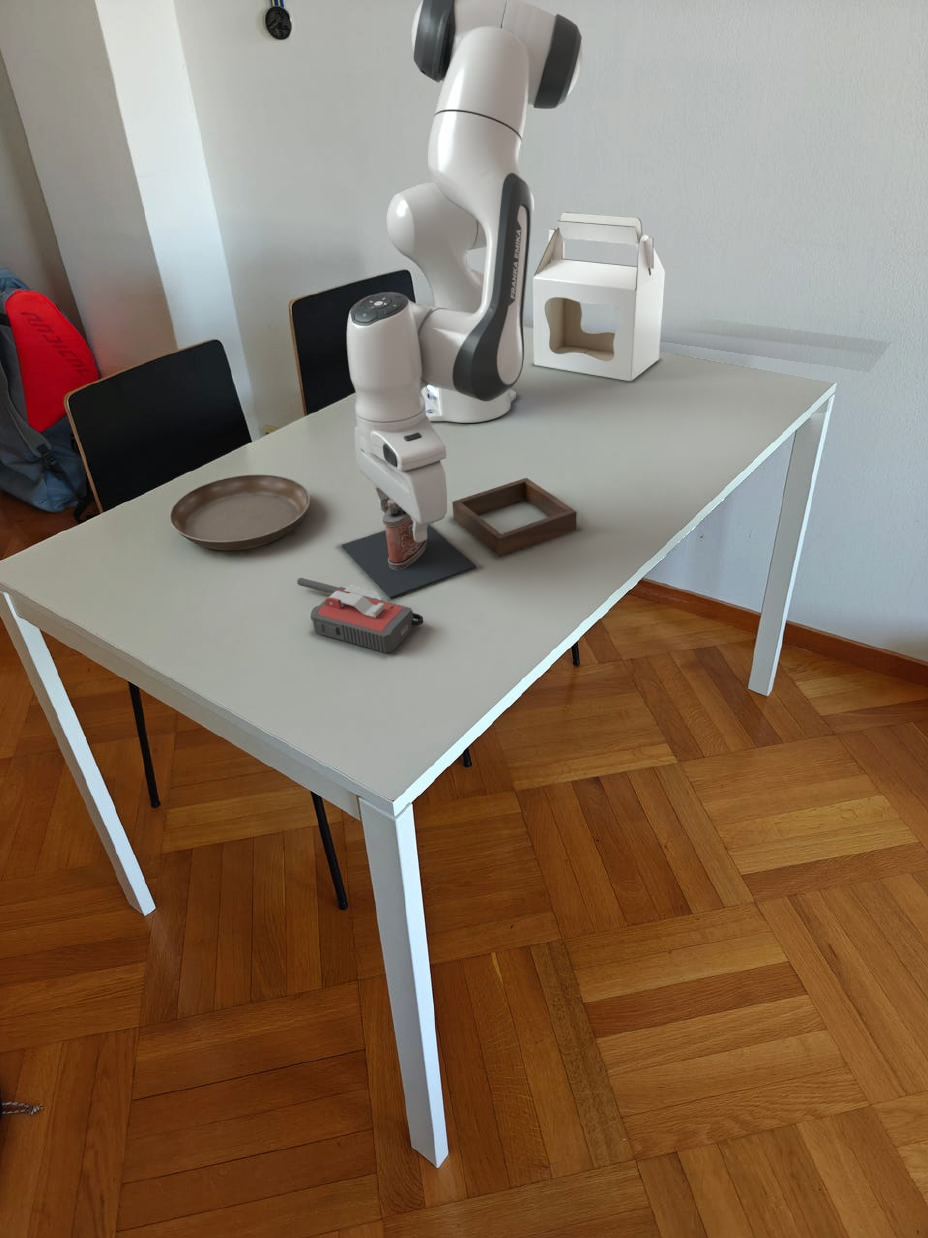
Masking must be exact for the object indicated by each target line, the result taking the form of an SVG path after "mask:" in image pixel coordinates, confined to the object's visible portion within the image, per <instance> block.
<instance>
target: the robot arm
mask: <svg viewBox="0 0 928 1238" xmlns="http://www.w3.org/2000/svg"><path fill="white" fill-rule="evenodd" d="M581 34H582V33H581V31H580V29H579V27H578V24H576V23H575V22H573V21H571V19H568V18H567V17H565V16H563V15H561V14H560V13H556V14H555V15H554V14H552V13H550V12H548V11H546V10H544V9H541V8H539V7H536V6H534V5H532V4H529V3H527V2H524V1H522V0H421V2H420V4H419V5H418V7H417V9H416V11H415V14H414V17H413V20H412V24H411V35H410V36H411V37H410V38H411V48H412V51H413V62H414V63H415V65H416V66H417V69H418V70H419V72H420V73H422V74H423V75H424V76H426V77H427V78H428V79H431V80H433V81H435V82H436V83H439V84H440V82H441V81H442V82H443V83H442V86H441V89H440V93H439V97H438V100H437V103H436V108H435V112H434V115H433V121H432V126H431V130H430V134H429V139H428V146H427V168H428V171H429V174H430V177H431V179H432V181H430V182H426V183H425V182H424V183H420V184H417V185H414V186H412V187H409V188H407V189H404V190H402V191H400V192H397V193H396V194H394V196H393V197H392V198H391V200H390V202H389V205H388V208H387V211H386V219H385V220H386V221H385V222H386V230H387V234H388V237H389V239H390V241H391V243H392V244H393V246H394V247H395V249H396V250H397V251H398V252H399V253H400V254H401V255H402V256H404V257H406V258H408V259H409V260H411V261H412V262H413V263H414V264H415V265H416V266H417V267H418V268H419V270H421V272H422V273H423V275H424V276H425V278H426V280H427V283H428V286H429V288H430V291H431V296H432V300H433V305H428V304H420V303H416V302H413V301H411V300H410V299H409V298H408V297H407V296H406V295H404V294H402V293H399V292H394V291H388V292H387V291H385V292H379V293H375V294H370V295H367V296H365V297H363V298H362V299H360V300H358V301H357V302H356V303H355V304H354V305H352V307H351V308H350V310H349V313H348V318H347V323H346V325H347V326H346V351H347V361H348V371H349V377H350V380H351V383H352V386H353V388H354V391H355V403H354V413H355V419H356V426H355V427H354V433H353V435H354V436H353V438H354V451H355V452H354V453H355V460H356V461H355V462H356V466H357V468H358V471H359V472H360V473H361V474H362V475H363V476H364V477H365V478H366V479H367V480H368V481H370V482H371V483H372V487H373V490H374V492H375V494H376V497H377V500H378V504H379V510H380V511H382V512H383V513H384V514H385V513H386V512H387V510H388V509H389V506H388V500H390V499H392V500H393V501H394V502H395V503H396V504H397V505H398V506H400V507H401V508H402V509H403V510H404V511H405V512H406V513H407V514H409V515H410V516H411V520H412V521H413V526H412V527H410V533H411V534H410V535H411V538H412V539H413V540H414V541H415V542H417V543H419V542H422V541H425V540H426V539H427V527H428V524H429V525H431V524H434V523H436V522H439V521H441V520H443V519H444V518H445V516H446V514H447V512H448V493H447V492H448V491H447V477H446V471H445V467H444V465H443V463H442V460H445V459H446V458H447V448H446V444H445V442H444V441H443V439H442V438H441V437H440V436H439V434H438V432H436V430H435V428H434V427H433V424H432V423H431V422H450V423H459V424H460V423H463V424H471V423H480V422H486V421H490V420H495V419H497V418H500V417H502V416H504V415H505V414H506V413H508V412H509V411H510V409H511V407H512V402H513V401H514V400H515V399H516V398H517V394H516V393H517V392H516V391H515V390H513V389H511V388H512V387H513V386H515V384H516V383H517V382H518V380H519V378H520V376H521V375H522V371H523V368H524V359H525V339H524V313H525V301H526V293H527V292H526V291H527V283H528V282H527V281H528V271H529V261H530V260H529V258H530V248H531V236H532V222H533V220H534V216H535V199H534V195H533V191H532V189H531V187H530V185H529V183H528V182H527V180H525V179H524V177H522V176H521V173H520V172H521V171H520V150H521V147H522V146H521V145H522V140H523V137H524V131H525V127H526V120H527V114H528V109H529V105H531V106H533V108H534V109H539V110H540V109H541V110H551V109H556V108H558V107H559V106H561V105H562V104H563V103H565V102H566V100H567V97H568V96H569V95H570V94H571V93H572V91H573V90H574V87H575V86H576V84H577V82H578V80H579V77H580V73H581V70H582V64H583V46H582V38H583V37H582V35H581ZM483 248H485V249H486V250H485V259H484V271H483V273H482V272H480V271H478V270H476V269H474V268H470V265H469V262H468V251H472V250H478V249H483Z"/></svg>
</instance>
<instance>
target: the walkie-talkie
mask: <svg viewBox="0 0 928 1238" xmlns="http://www.w3.org/2000/svg"><path fill="white" fill-rule="evenodd" d="M296 584H297V585H298V586H301V587H305V588H307V589H312V590H316V591H320V592H323V593H326V594H327V593H328V594H330V595H328V596H327V598H325V599H324V600H323V601H322V602H321V603H320V604H319V605H316V606H314V607H313V608H312V610H311V612H310V619H311V621H312V626H313V629H314V630H313V631H314V633H315V634H319V635H321V636H322V635H323V636H326V637H330V638H333V639H337V640H340V641H342V642H347V643H350V644H354V645H358V646H361V647H365V648H368V649H371V650H375V651H378V652H381V653H386V654H387V653H390V652H393V651H394V650H395V649H397V647H398V646H399V645H401V643H402V642H403V641H404V639H406V638H407V636H408V635H409V634H410V633H411V632H412V631H413V629H415V627H419V626H421V625H422V624H423V623H424V617H423V616H422V615H421V614H419V613H415V612H413V611H414V610H413V609H412V608H411V607H408V606H404V605H401V604H396V603H393V602H390V601H387V600H383V599H382V597H381V596H380V594H379V593H378V591H376V590H372V589H369V588H364V587H361V586H357V585H356V584H352V583H350V584H349V585H348V586H347V587H343V586H339V587H338V586H334V585H330V584H326V583H323V582H319V581H315V580H311V579H307V578H305V577H304V578H303V577H299V578H298V579H297V580H296Z"/></svg>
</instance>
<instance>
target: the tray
mask: <svg viewBox="0 0 928 1238" xmlns="http://www.w3.org/2000/svg"><path fill="white" fill-rule="evenodd" d="M524 500H525V501H527V502H528V503H529V504H531V505H532V506H534V507H535V508H536V509H538V510H539V511H541V512H542V513H544V514H545V515H546V516H547V517H545V518H542V519H540V520H536V521H534V522H531V523H528V524H526V525H522V526H520V527H517V528H514V529H511V530H508V531H505V532H503V533H501V532H500V531H499V530H497V529H496V528H495V527H493V526H492V525H491V524H490V523H488V522H487V521H485V519H483V518H482V517H481V516H480V515H483V514H485V513H489V512H491V511H494V510H498V509H501V508H503V507H506V506H509V505H513V504H515V503H517V502H521V501H524ZM451 503H452V517H453V521H454V522H456V523H457V524H458V525H459V526H461V527H462V528H463V529H464V530H466V531H467V532H468V533H469V534H471V536H473V537H474V538H475V539H476V540H478V541H479V542H480V543H481V544H483V545H484V546H485V547H486V548H487V549H489V550H490V551H491V552H492V553H494V554H495V555H496V556H497V557H499V558H502V557H504V556H507V555H510V554H513V553H515V552H518V551H521V550H525V549H527V548H530V547H533V546H535V545H538V544H541V543H544V542H546V541H549V540H551V539H554V538H557V537H560V536H562V535H566V534H568V533H571V532H574V531H576V530H577V523H578V521H577V520H578V519H577V518H578V514H577V513H578V511H577V510H575V509H574V508H573V507H571V506H569V505H568V504H567V503H565V502H564V501H562V500H560V499H559V498H558V497H556V496H554V495H553V494H551V493H550V492H549V491H547V490H546V489H545V488H543V487H541V486H540V485H538V484H537V483H536V482H534V481H533V480H531V479H530V478H528V477H524V478H521V479H518V480H515V481H512V482H509V483H506V484H503V485H500V486H497V487H494V488H493V487H492V488H491V489H487V490H484V491H481V492H478V493H475V494H472V495H469V496H465V497H462V498H460V499H457V500H454V501H452V502H451Z"/></svg>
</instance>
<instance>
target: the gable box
mask: <svg viewBox="0 0 928 1238" xmlns="http://www.w3.org/2000/svg"><path fill="white" fill-rule="evenodd" d="M557 225H558V227H557V228H556V229H555V228H549V231H548V243H547V246H546V249H545V251H544V253H543V255H542V257H541V259H540V262H539V264H538V266H537V267H536V270H535V273H534V274H533V276H532V312H533V313H532V315H533V319H532V321H533V323H532V324H533V364H534V366H537V367H543V368H550V369H555V370H561V371H567V372H573V373H578V374H584V375H589V376H590V375H592V376H595V377H602V378H607V379H614V380H620V381H625V382H632V381H633V380H634V379H636V378H637V377H638V376H639V375H641V374H642V373H643V372H645V371H646V370H647V369H649V368H650V367H651V366H653V364H655V363H656V362H657V361H659V360H660V346H661V334H662V333H661V332H662V322H663V321H662V319H663V307H664V292H665V291H664V290H665V279H666V277H665V276H666V270H665V269H664V267H663V264H662V262H661V260H660V258H659V255H658V253H657V252H656V250H655V248H654V237H652V236H651V237H649V236H648V235H647V234H643V224H642V221H641V219H640V218H639V217H635V216H634V217H633V216H621V215H609V214H608V215H607V214H596V213H584V212H583V213H582V212H569V211H568V212H567V211H565V212H563V213H562V214H561V216H560V220H557ZM565 239H566V240H569V241H570V240H578V241H588V242H589V241H590V242H600V243H601V242H602V243H611V244H613V243H614V244H622V245H625V244H626V245H629V246H635V248H636V250H637V258H636V259H637V261H636V265H630V264H629V265H628V264H617V263H609V262H599V261H589V260H580V259H579V260H578V259H569V258H566V246H565ZM581 304H584V305H593V306H597V305H598V306H600V305H603V306H605V305H606V306H611V307H613V308H616V309H617V310H618V311H619V312H620V316H621V317H620V322H619V324H618V327H617V329H616V331H615V333H614V332H609V331H607V332H597V333H588V332H586V331H584V330H583V329H582V325H581V324H582V318H583V311H582V305H581Z"/></svg>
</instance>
